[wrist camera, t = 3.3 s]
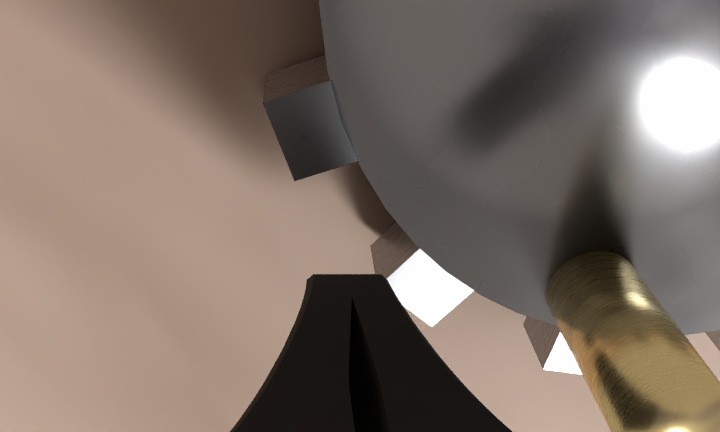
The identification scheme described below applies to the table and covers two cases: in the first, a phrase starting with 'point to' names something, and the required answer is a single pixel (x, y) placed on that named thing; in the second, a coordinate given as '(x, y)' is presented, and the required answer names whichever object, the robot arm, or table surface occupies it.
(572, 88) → the sprocket
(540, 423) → the table surface
